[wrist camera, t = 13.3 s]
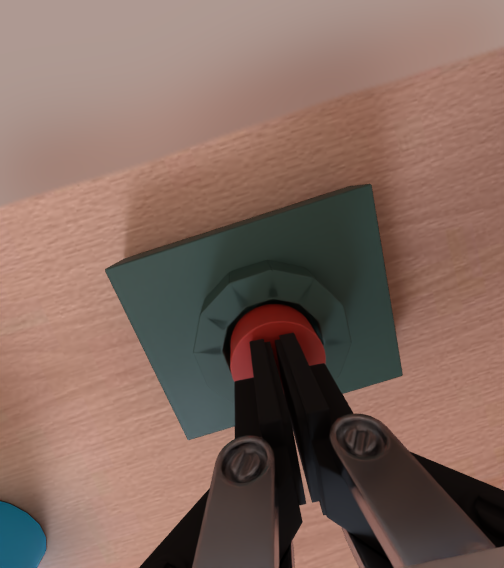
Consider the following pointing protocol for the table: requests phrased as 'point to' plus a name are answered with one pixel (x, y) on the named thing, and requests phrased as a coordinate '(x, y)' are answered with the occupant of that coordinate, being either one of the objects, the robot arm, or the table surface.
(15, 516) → the mug
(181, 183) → the table surface
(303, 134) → the table surface
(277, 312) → the button
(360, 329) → the button box
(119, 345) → the table surface
